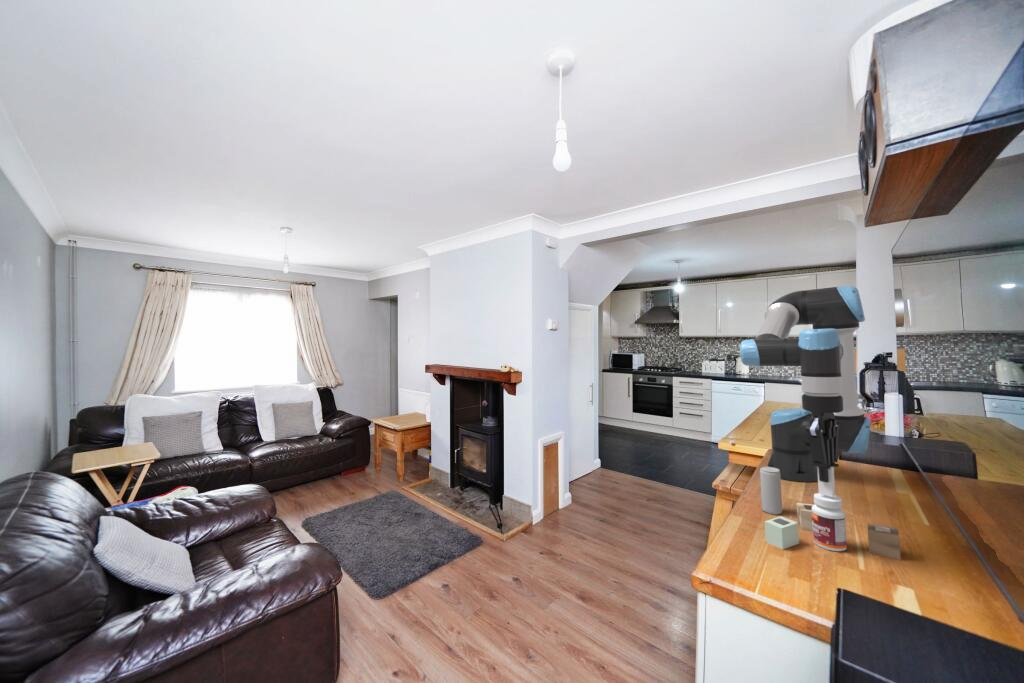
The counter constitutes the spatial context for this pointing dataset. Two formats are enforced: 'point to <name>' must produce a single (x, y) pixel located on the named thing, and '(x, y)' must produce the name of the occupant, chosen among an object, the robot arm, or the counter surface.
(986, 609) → the counter surface
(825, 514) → the pill bottle
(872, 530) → the walnut block
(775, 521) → the sage block
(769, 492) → the beverage can
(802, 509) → the beech block
